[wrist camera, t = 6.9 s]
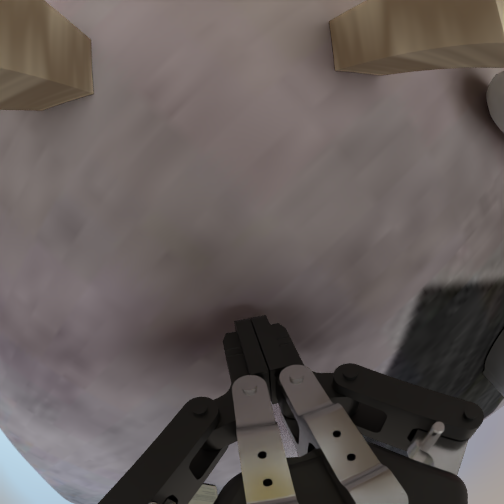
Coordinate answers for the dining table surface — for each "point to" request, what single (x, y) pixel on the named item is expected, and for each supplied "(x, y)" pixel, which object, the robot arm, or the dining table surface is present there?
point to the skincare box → (205, 495)
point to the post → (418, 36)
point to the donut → (496, 100)
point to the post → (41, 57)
